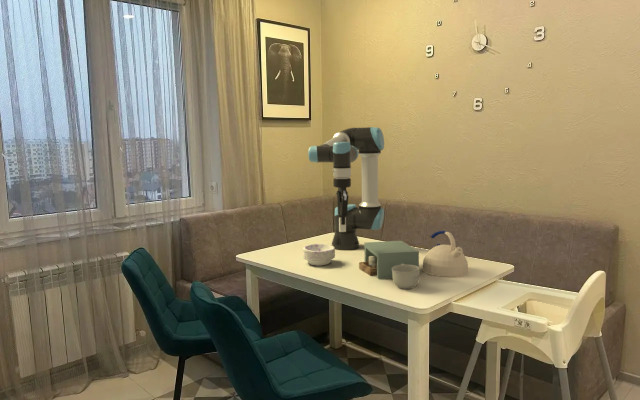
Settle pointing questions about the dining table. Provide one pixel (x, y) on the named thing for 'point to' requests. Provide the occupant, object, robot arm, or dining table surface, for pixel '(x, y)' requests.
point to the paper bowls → (319, 254)
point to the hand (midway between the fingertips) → (342, 231)
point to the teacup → (405, 276)
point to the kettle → (445, 259)
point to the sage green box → (391, 256)
